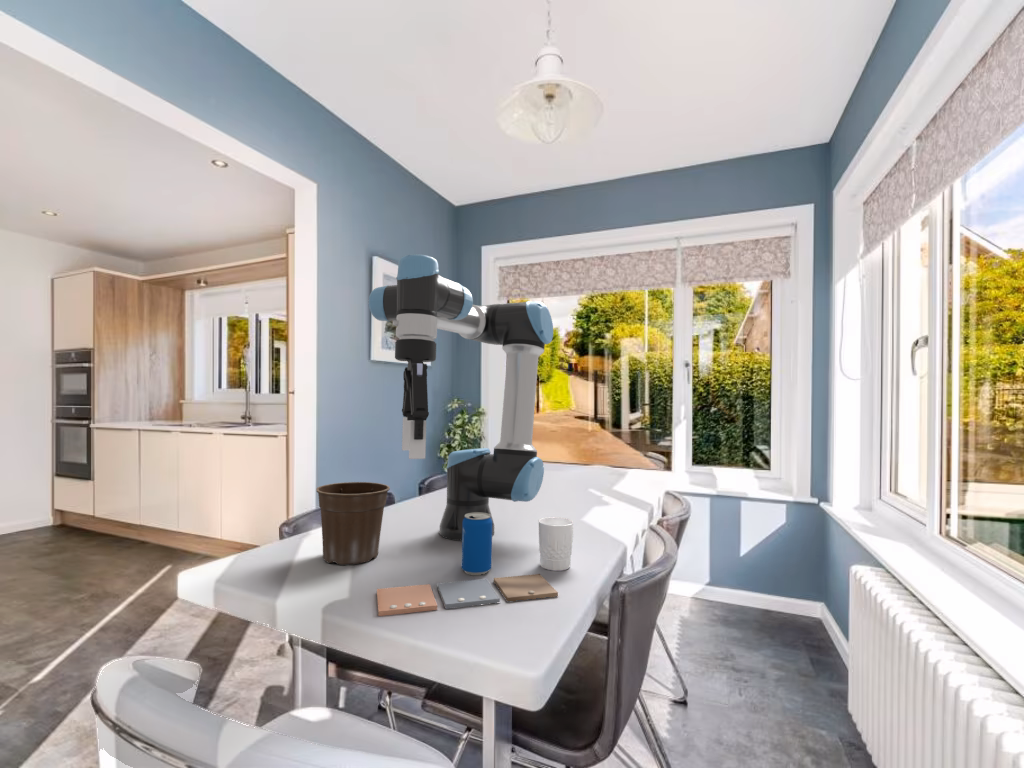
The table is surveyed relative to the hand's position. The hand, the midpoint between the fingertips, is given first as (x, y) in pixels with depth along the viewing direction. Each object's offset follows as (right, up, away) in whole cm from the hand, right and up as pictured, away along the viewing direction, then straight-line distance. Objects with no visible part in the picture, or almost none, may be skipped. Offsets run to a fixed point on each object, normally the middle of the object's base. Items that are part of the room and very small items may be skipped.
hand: (412, 454), depth 90 cm
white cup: (+28, -28, +20) cm, 44 cm away
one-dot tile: (+21, -28, +6) cm, 35 cm away
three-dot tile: (-1, -27, -1) cm, 27 cm away
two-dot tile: (+10, -27, +3) cm, 29 cm away
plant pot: (-19, -27, +23) cm, 40 cm away
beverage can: (+11, -28, +15) cm, 33 cm away
